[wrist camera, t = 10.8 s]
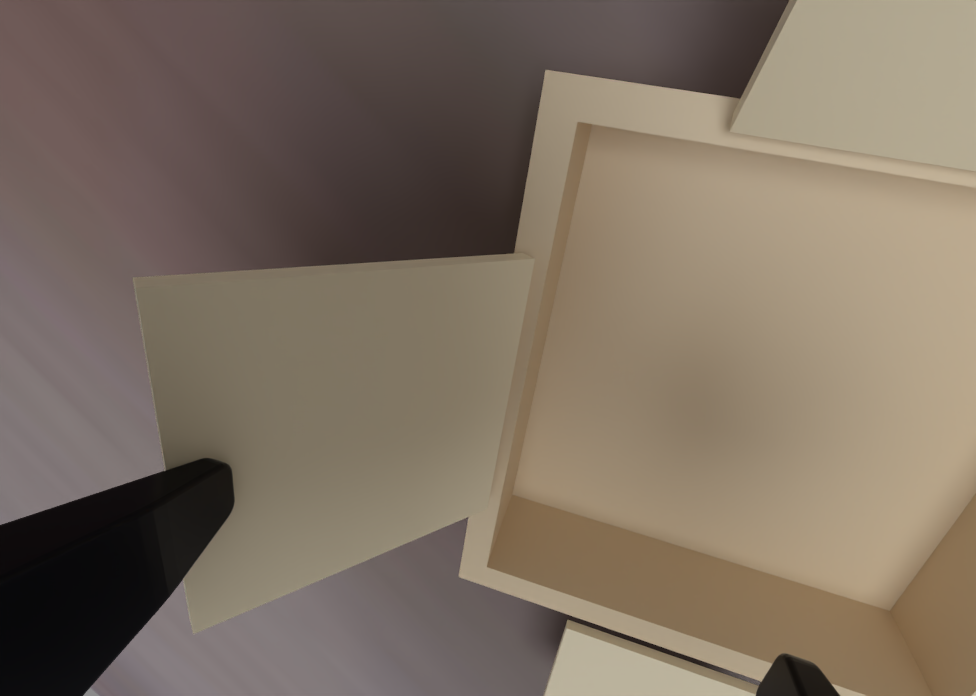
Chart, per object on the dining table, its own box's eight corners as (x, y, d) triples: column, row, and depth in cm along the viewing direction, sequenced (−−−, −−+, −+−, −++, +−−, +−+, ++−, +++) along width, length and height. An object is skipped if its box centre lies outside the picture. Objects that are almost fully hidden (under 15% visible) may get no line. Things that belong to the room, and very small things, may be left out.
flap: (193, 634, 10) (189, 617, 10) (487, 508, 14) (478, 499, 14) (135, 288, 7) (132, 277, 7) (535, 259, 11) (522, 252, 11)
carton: (1016, 816, 19) (1111, 993, 15) (468, 618, 23) (432, 718, 19) (1697, 255, 9) (2404, 343, 6) (571, 83, 13) (542, 68, 10)
